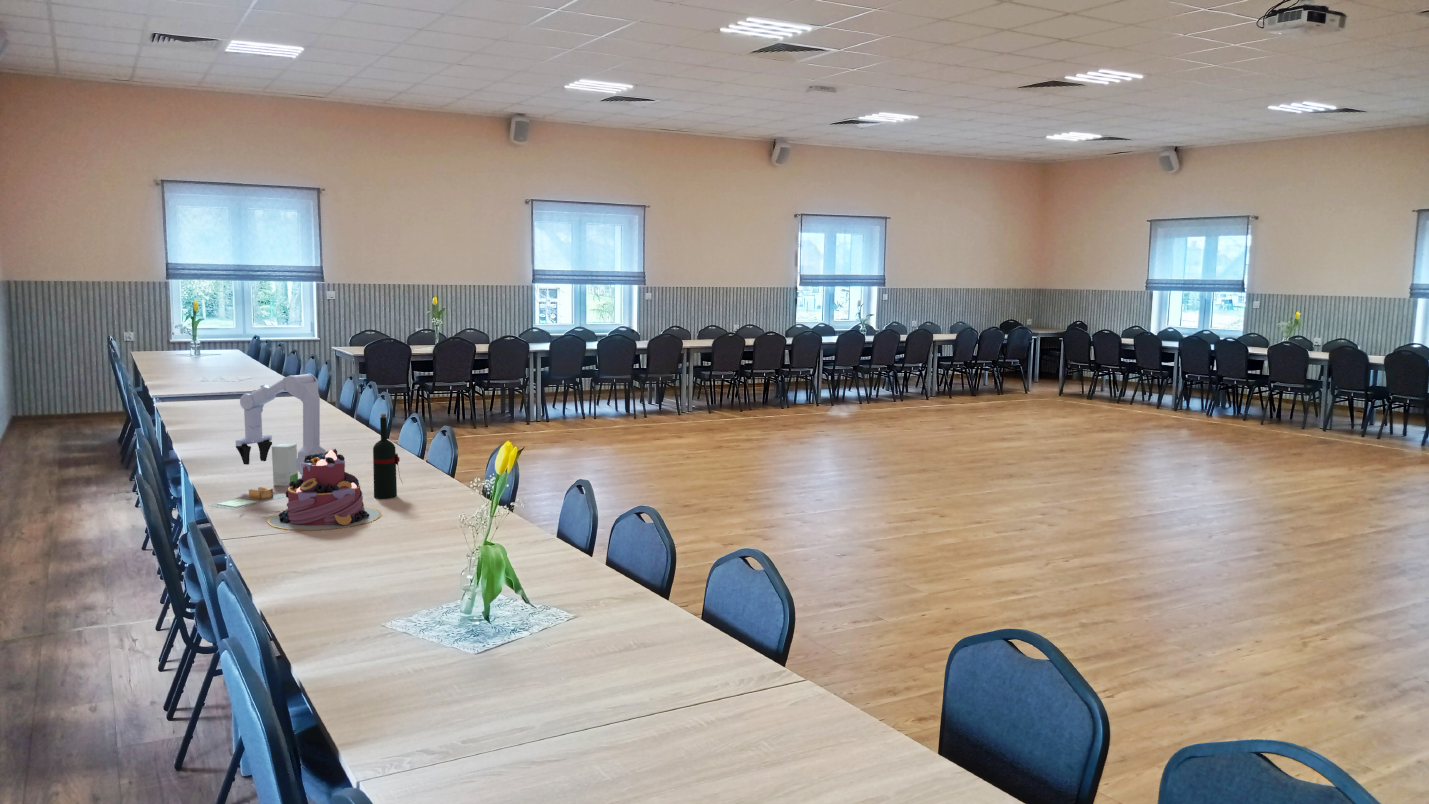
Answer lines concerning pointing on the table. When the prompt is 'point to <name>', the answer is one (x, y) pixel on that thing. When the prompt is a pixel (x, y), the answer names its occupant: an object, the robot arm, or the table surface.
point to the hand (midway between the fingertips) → (254, 462)
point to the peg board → (244, 502)
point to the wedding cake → (324, 498)
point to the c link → (261, 493)
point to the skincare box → (284, 464)
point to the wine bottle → (385, 465)
